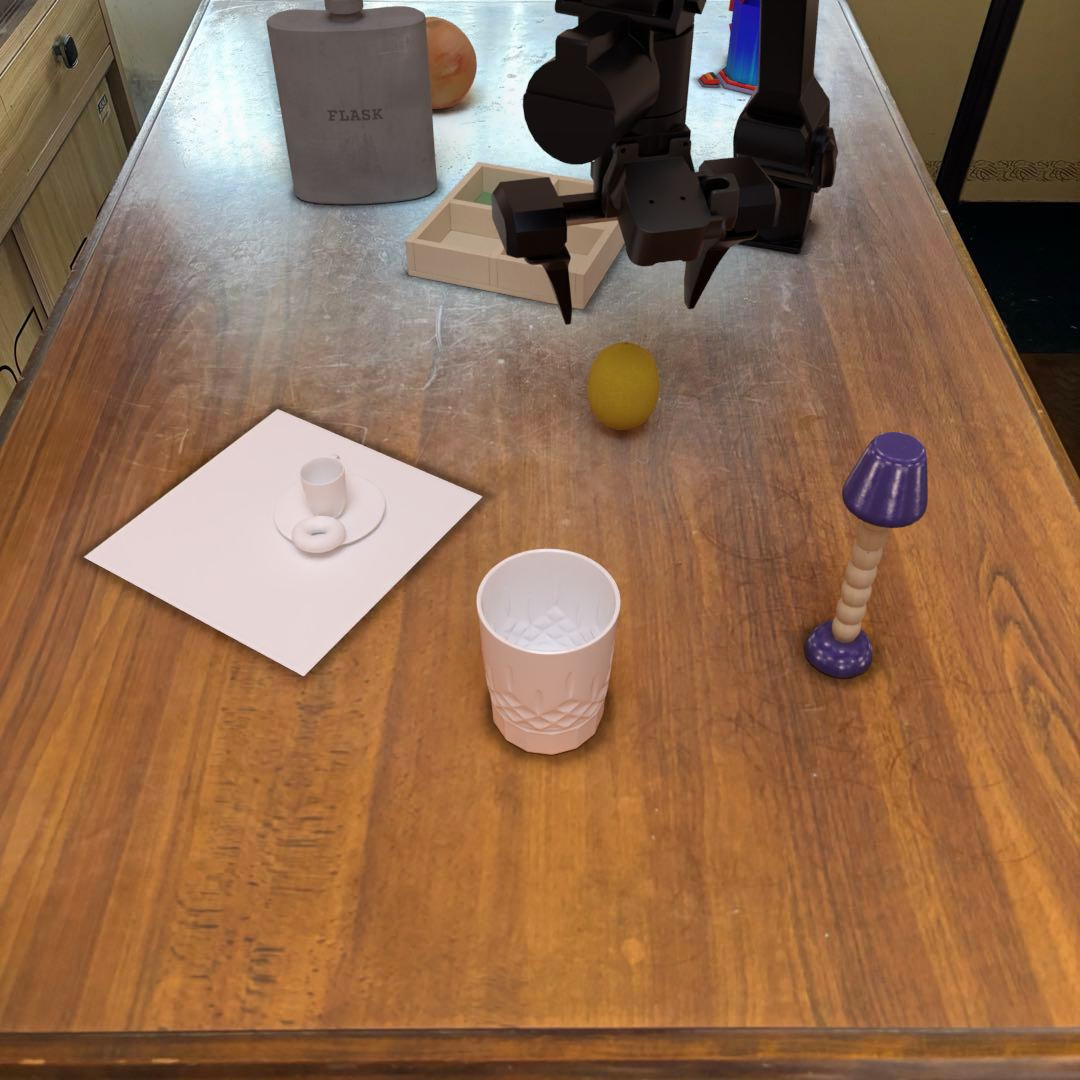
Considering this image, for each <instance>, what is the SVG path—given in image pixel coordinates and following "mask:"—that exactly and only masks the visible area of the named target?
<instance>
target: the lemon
mask: <svg viewBox="0 0 1080 1080" xmlns="http://www.w3.org/2000/svg"><path fill="white" fill-rule="evenodd" d="M660 391H661V382H660V375H659V369H658V365H657V363H656V360H655V359H654V357H653V356H652V354H651V353H650V352H649V351H648V350H647V349H646V348H645V347H643V346H641V345H640V344H637V343H635V342H630V341H618V342H615V343H614V342H613V343H612V344H610V345H607V346H606V347H605V348H604V349H601V351H600V352H599V353H598V354H597V355H596V357H595V358H594V360H593V362H592V364H591V366H590V370H589V373H588V379H587V385H586V392H587V393H586V394H587V395H586V396H587V399H588V404H589V407H590V410H591V412H592V413H593V415H594V416H595V418H596V419H597V420H598V421H599V422H600V423H601V424H603V425H604V426H606V427H608V428H610V429H614V430H618V431H626V430H632V429H635V428H638V427H640V426H641V425H642V424H644V423H645V422H646V421H648V419H649V418H650V417H651V415H653V413H654V411H655V409H656V407H657V403H658V401H659V397H660Z"/></svg>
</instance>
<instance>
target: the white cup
mask: <svg viewBox="0 0 1080 1080" xmlns="http://www.w3.org/2000/svg"><path fill="white" fill-rule="evenodd" d="M475 602H476V611H477V620H478V626H479V628H478V629H479V636H480V644H481V645H480V647H481V655H482V660H483V661H482V662H483V666H484V674H485V680H486V686H487V690H488V691H489V695H490V702H491V708H492V709H491V711H492V719H493V723H494V724H495V726H496V727H497V729H498V731H499V732H500V733H501V735H502V736H503V737H504V739H505V740H506V741H507V742H509V743H511V744H513V745H515V747H518V748H519V749H521V750H523V751H525V752H527V753H534V754H542V755H550V756H551V755H556V754H557V755H558V754H561V753H565V752H568V751H572V750H575V749H576V750H577V749H578V748H580V746H582V745H583V744H584V743H585V742H587V741H588V740H589V739H590V738H592V737H593V736H594V735H595V734H596V731H597V730H598V727H599V725H600V722H601V721H602V718H603V715H604V709H605V702H606V697H607V694H608V693H607V692H608V689H609V683H610V678H611V670H612V665H613V662H614V661H613V660H614V655H615V654H614V652H615V646H616V640H617V633H618V632H617V631H618V626H619V619H620V613H621V593H620V589H619V587H618V585H617V583H616V581H615V579H614V577H613V576H612V575H611V573H610V572H609V571H608V570H607V569H606V568H605V567H603V566H602V565H601V564H599V563H598V562H597V561H596V560H594V559H592V558H590V557H588V556H586V555H584V554H581V553H578V552H575V551H571V550H566V549H560V548H535V549H530V550H525V551H522V552H518V553H515V554H512V555H510V556H507V558H504V559H503V560H501V561H499V562H498V563H497V564H495V565H494V566H493V567H492V568H490V570H489V571H488V572H487V573H486V574H485V576H484V577H483V579H482V580H481V582H480V584H479V586H478V589H477V593H476V601H475Z"/></svg>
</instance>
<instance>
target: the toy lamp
mask: <svg viewBox="0 0 1080 1080" xmlns="http://www.w3.org/2000/svg"><path fill="white" fill-rule="evenodd" d="M928 479H929V478H928V453H927V449H926V448H925V446H924V444H923V443H922V442H921V441H920V440H919V439H917V438H916V437H915V436H912V435H911V434H909V433H906V432H899V431H886V432H885V431H884V432H882V433H879V434H877V435H876V436H874V438H872V439H871V441H870V442H869V443H868V445H867V446H866V447H865V449H864V451H863V452H862V454H861V455H860V457H859V459H858V460H857V462H856V463H855V465H854V467H853V468H852V469H851V471H850V473H849V475H848V476H847V478H846V479H845V481H844V484H843V486H842V490H841V498H842V502H843V504H844V506H845V507H846V509H847V510H848V511H849V513H851V514H852V515H853V516H855V518H857V519H858V520H861V522H860V523H859V524H858V526H857V528H856V531H855V532H856V533H855V535H856V538H855V539H856V540H855V542H854V543H853V545H852V548H851V551H850V558H851V559H850V560H849V561H848V563H847V565H846V568H845V573H844V574H845V579H844V580H843V582H842V584H841V587H840V598H839V599H838V601H837V604H836V610H835V611H836V615H835V616H834V618H833V619H831V620H827V621H825V622H822V623H820V624H818V625H817V626H816V627H814V628H813V629H812V630H811V632H809V634H808V636H807V637H806V640H805V643H804V654H805V657H806V659H807V660H808V662H809V663H810V664H811V665H812V666H813V667H814V668H816V670H818V671H820V672H821V673H824V674H825V675H827V676H831V677H834V678H843V679H848V678H853V677H856V676H859V675H861V674H863V673H865V672H866V671H867V670H868V669H869V668H870V666H871V665H872V661H873V656H874V655H873V646H872V643H871V640H870V638H869V636H868V635H867V633H866V632H864V630H863V629H862V620H863V619H864V618H865V615H866V613H867V606H868V605H867V602H869V600H870V599H871V597H872V593H873V586H872V585H873V583H874V582H875V580H876V578H877V575H878V574H877V573H878V566H877V565H878V564H880V562H881V560H882V557H883V551H884V550H883V546H884V545H885V544H886V542H887V541H888V538H889V533H890V531H889V530H890V529H899V528H901V529H902V528H906V527H910V526H912V525H913V524H916V523H917V522H919V521H920V520H921V519H922V518H923V516H925V514H926V511H927V507H928V502H929V499H928V498H929V491H928V490H929V488H928V487H929V484H928V483H929V482H928V481H929V480H928Z"/></svg>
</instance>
